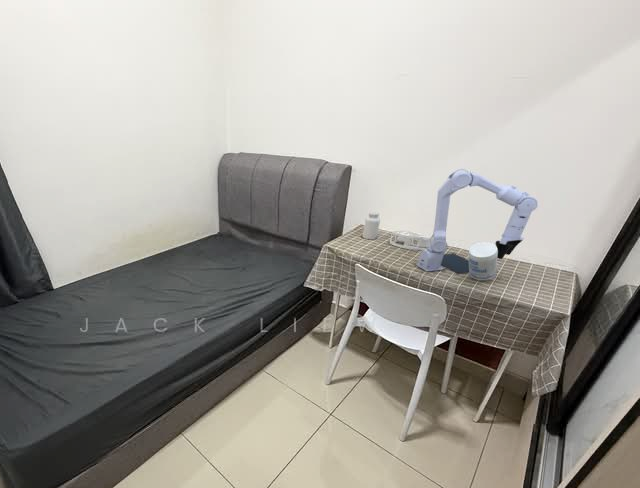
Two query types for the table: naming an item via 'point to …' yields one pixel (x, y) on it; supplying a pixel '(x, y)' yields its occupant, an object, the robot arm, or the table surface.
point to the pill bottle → (371, 226)
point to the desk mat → (455, 263)
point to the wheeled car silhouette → (405, 237)
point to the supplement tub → (483, 261)
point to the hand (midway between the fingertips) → (502, 256)
